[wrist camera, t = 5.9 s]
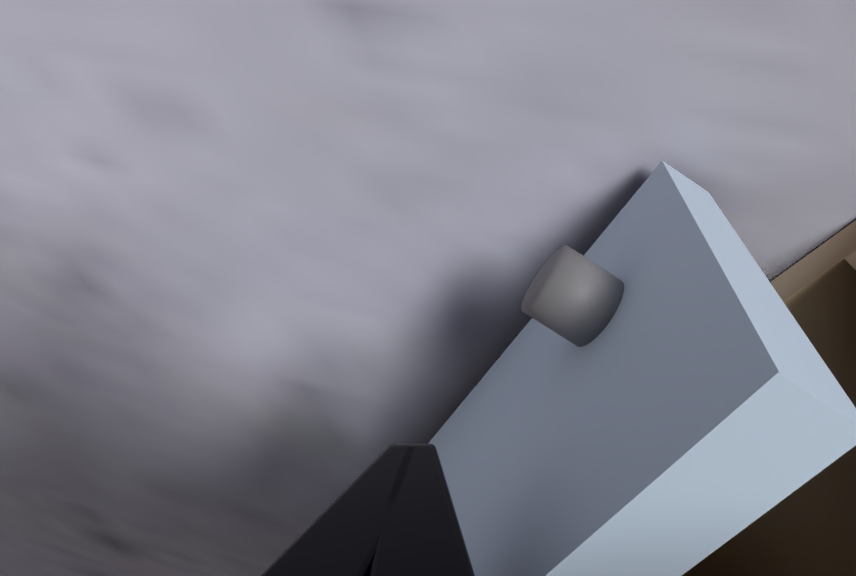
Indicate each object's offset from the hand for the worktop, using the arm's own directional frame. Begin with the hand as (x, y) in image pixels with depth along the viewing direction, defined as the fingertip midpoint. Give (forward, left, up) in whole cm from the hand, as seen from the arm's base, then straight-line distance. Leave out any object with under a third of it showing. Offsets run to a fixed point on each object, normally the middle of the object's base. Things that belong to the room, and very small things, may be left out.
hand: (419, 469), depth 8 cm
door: (+2, +2, -5) cm, 6 cm away
